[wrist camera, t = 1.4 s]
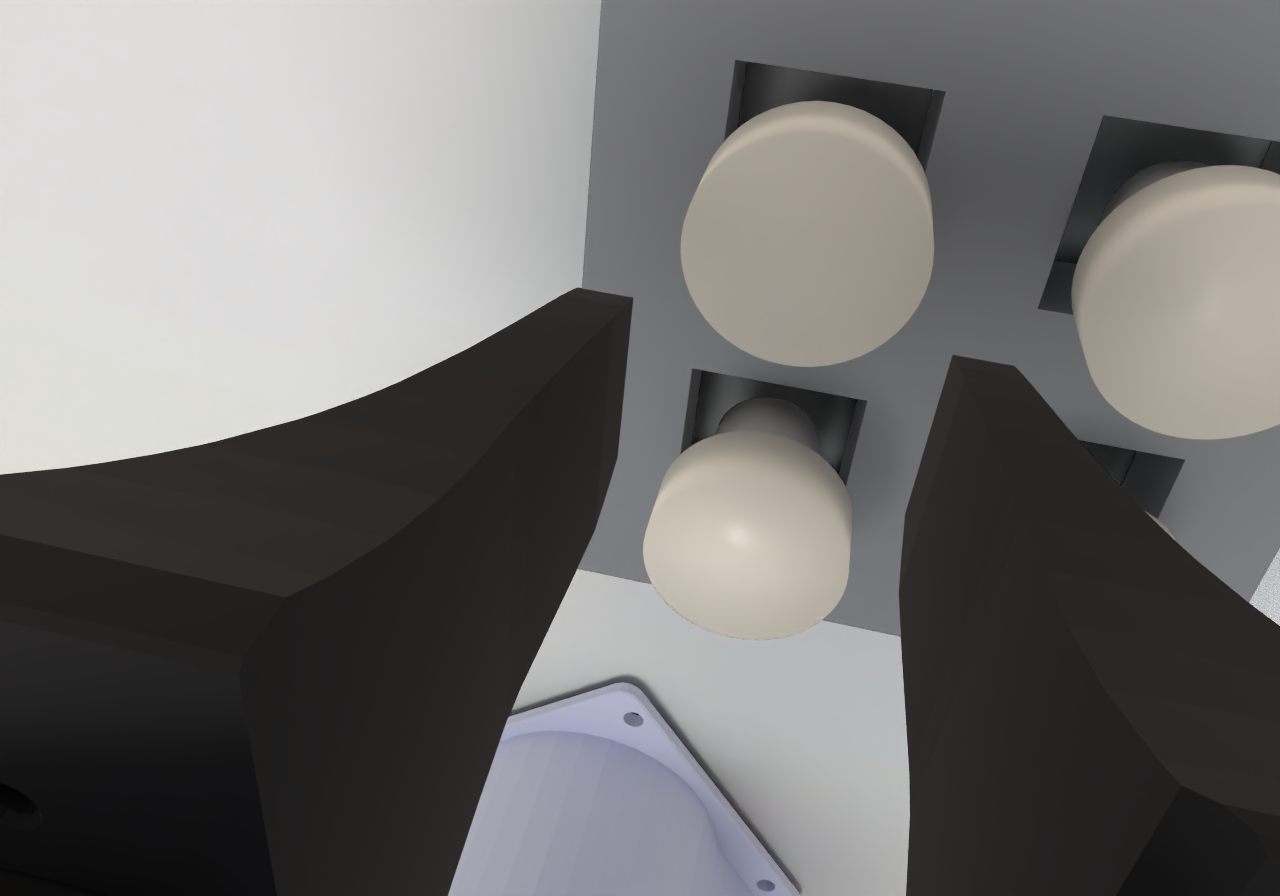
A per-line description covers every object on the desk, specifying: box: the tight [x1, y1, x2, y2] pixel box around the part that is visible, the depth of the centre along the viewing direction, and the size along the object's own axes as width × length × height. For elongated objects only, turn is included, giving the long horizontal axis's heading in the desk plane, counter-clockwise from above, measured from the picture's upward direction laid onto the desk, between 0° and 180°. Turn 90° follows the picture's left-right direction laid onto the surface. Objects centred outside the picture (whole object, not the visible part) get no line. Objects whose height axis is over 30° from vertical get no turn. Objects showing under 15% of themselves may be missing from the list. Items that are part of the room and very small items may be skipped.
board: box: [577, 0, 1280, 637], centre depth 19 cm, size 13×13×2 cm
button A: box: [643, 397, 852, 640], centre depth 19 cm, size 3×3×4 cm
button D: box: [1071, 160, 1280, 440], centre depth 15 cm, size 3×3×4 cm
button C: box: [680, 101, 934, 367], centre depth 16 cm, size 3×3×4 cm
